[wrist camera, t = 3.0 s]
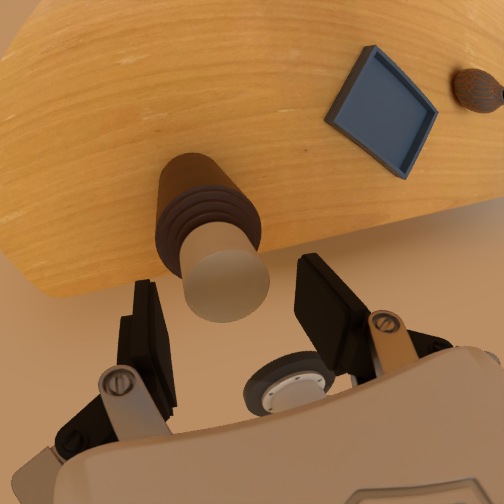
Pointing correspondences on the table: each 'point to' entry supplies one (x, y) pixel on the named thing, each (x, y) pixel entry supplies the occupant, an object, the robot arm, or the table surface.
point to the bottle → (198, 205)
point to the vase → (478, 91)
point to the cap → (222, 273)
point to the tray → (383, 112)
